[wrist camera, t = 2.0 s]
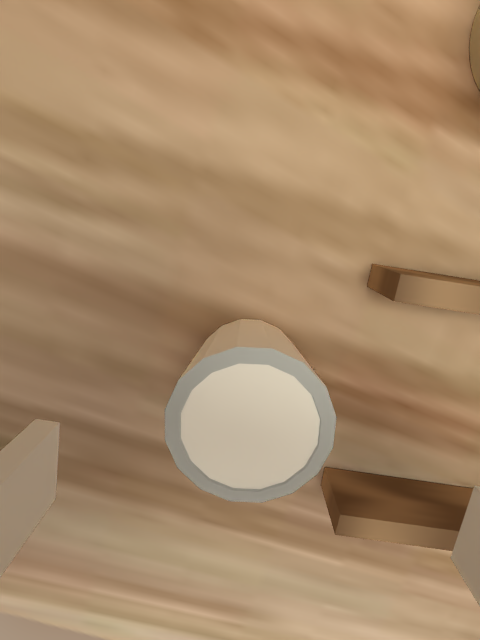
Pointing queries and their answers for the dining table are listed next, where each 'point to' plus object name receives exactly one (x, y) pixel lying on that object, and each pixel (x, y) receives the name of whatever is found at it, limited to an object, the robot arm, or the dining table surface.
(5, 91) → the dining table surface
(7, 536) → the robot arm
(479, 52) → the cream rounded cylinder
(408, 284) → the bay
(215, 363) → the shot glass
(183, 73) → the dining table surface
